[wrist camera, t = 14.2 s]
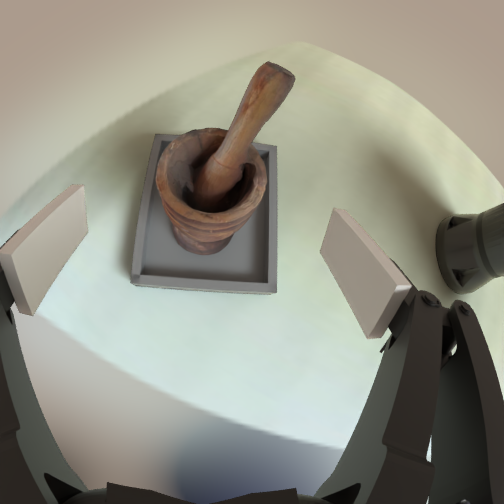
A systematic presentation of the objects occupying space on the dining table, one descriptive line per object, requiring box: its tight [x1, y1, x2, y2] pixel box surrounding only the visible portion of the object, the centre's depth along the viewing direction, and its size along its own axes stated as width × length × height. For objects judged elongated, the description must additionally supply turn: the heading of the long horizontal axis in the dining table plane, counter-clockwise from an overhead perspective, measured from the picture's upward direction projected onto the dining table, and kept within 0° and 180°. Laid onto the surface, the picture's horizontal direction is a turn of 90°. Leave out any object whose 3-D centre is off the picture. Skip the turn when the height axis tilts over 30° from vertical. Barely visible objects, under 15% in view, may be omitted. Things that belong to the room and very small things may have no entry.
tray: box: [130, 134, 277, 295], centre depth 33 cm, size 16×19×3 cm
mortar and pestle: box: [155, 62, 295, 255], centre depth 24 cm, size 12×9×20 cm
